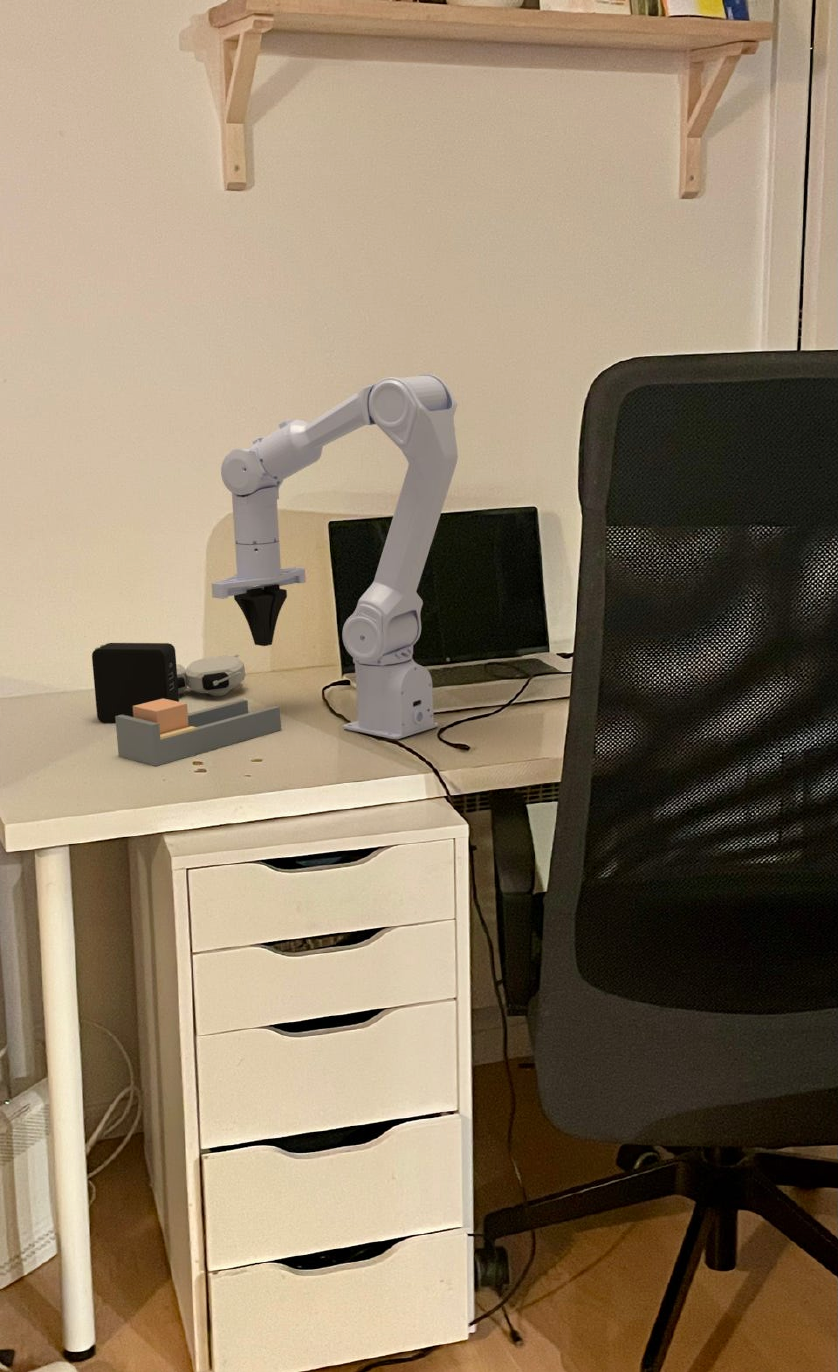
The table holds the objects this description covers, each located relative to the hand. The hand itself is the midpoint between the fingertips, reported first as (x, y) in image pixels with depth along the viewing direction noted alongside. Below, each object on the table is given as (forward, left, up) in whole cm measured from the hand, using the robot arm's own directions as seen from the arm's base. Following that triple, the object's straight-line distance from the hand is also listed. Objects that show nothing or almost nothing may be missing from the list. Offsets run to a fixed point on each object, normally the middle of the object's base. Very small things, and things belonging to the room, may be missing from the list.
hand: (263, 644), depth 198 cm
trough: (-4, +14, -9) cm, 17 cm away
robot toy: (+18, -2, -10) cm, 21 cm away
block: (-4, +21, -8) cm, 22 cm away
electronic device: (+12, +12, -10) cm, 19 cm away
